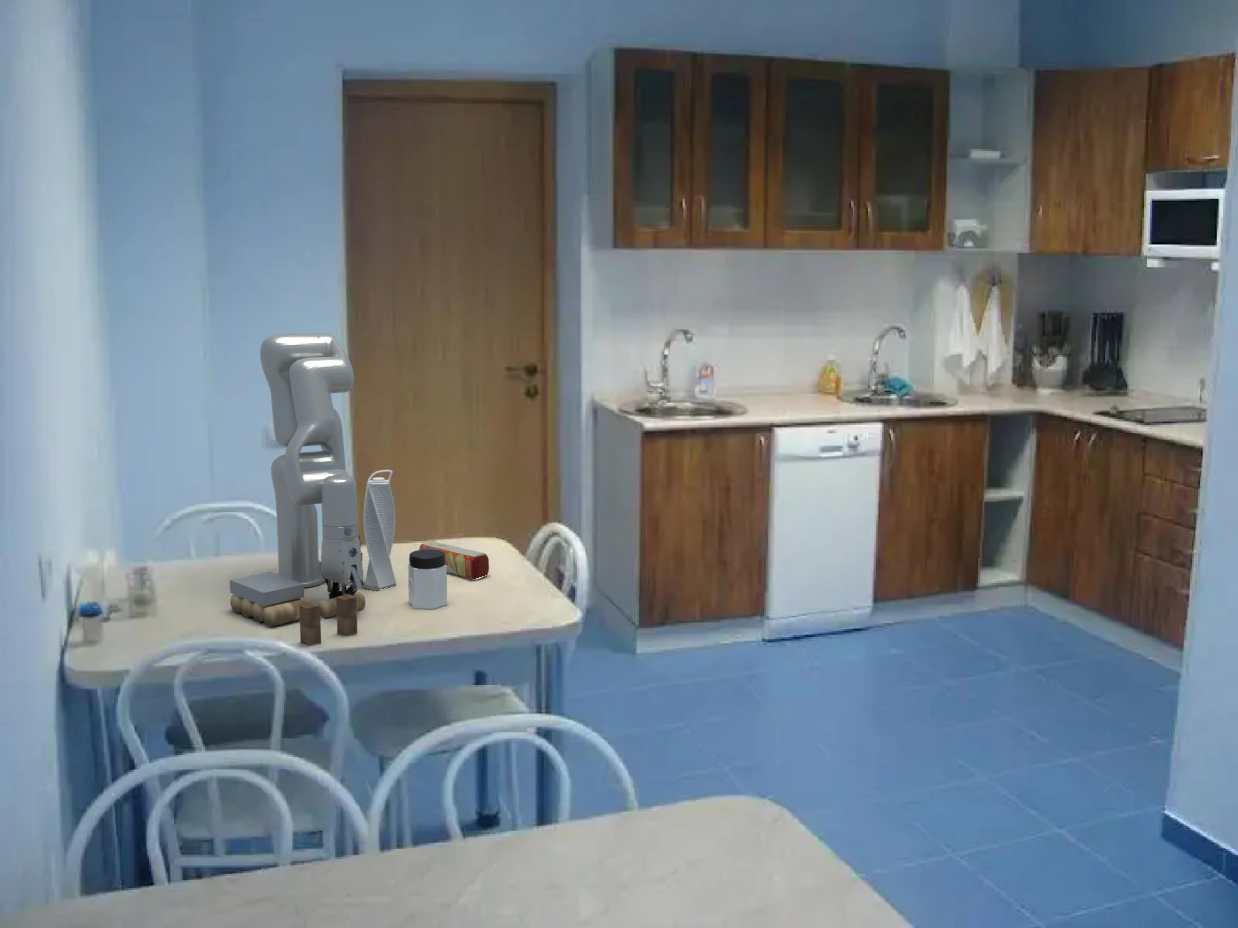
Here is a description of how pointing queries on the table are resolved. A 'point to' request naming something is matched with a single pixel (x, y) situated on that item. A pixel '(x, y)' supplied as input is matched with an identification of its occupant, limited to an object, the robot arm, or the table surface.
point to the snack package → (461, 560)
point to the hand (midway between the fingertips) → (341, 610)
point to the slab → (266, 588)
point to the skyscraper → (379, 532)
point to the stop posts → (312, 621)
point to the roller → (330, 605)
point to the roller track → (269, 610)
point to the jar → (427, 579)
